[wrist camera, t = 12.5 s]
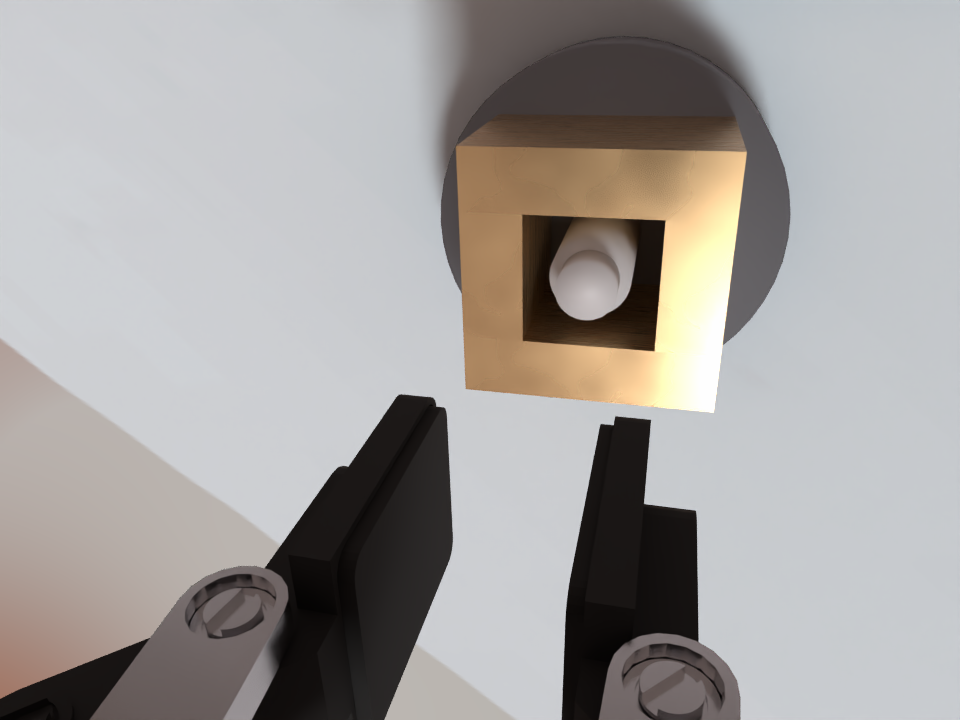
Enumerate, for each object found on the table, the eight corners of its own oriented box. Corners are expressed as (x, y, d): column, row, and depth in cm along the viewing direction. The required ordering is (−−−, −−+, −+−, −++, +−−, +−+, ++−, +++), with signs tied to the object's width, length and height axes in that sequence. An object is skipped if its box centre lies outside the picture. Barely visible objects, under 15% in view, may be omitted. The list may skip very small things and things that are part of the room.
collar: (735, 116, 22) (747, 151, 18) (709, 336, 25) (713, 412, 21) (498, 114, 23) (455, 145, 19) (501, 321, 27) (465, 388, 22)
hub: (805, 35, 23) (860, 63, 16) (755, 357, 28) (779, 493, 21) (458, 37, 26) (366, 63, 18) (468, 333, 31) (398, 447, 23)
